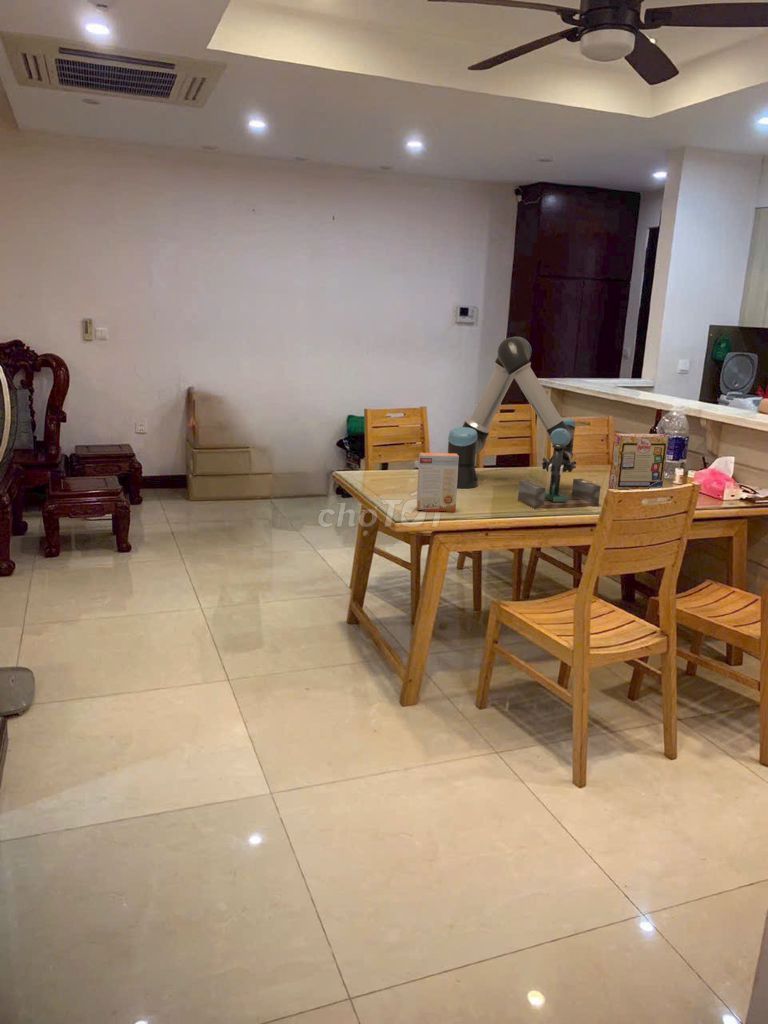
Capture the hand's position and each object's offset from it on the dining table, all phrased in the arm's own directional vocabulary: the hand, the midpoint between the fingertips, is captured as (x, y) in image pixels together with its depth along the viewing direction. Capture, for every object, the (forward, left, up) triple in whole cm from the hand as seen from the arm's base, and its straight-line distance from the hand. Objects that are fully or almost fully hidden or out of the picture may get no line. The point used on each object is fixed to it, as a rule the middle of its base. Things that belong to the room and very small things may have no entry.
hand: (555, 470), depth 286 cm
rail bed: (+6, +5, -14) cm, 16 cm away
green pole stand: (+3, +5, -12) cm, 13 cm away
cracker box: (-46, +3, -14) cm, 49 cm away
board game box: (+40, +4, -14) cm, 42 cm away
